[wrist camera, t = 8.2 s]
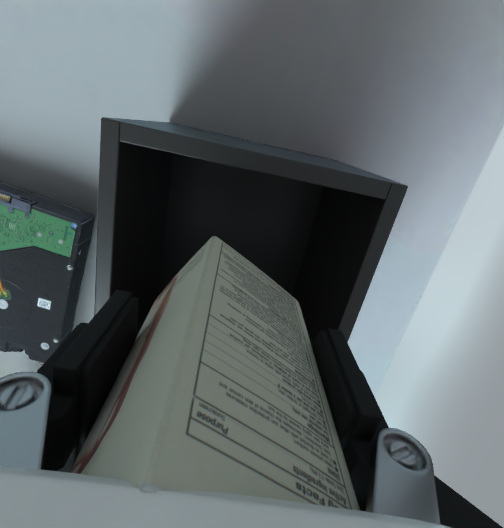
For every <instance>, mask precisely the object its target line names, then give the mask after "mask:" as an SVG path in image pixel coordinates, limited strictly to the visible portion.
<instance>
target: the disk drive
mask: <svg viewBox="0 0 504 528" xmlns="http://www.w3.org/2000/svg"><path fill="white" fill-rule="evenodd" d="M93 221H94V216H93V215H91V214H87V213H85V212H82V211H80V210H78V209H75V208H72V207H70V206H67V205H64V204H61V203H58V202H56V201H53V200H50V199H47V198H44V197H41V196H38V195H36V194H33V193H30V192H27V191H24V190H21V189H19V188H16V187H13V186H10V185H8V184H5V183H2V182H0V351H3V352H7V351H8V352H11V351H14V352H17V351H19V352H21V351H23V350H25V353H26V354H27V355H29V358H30V359H31V360H35V361H39V362H43V363H45V362H46V361H47V360H48V358H49V357H50V356H51V355H52V354H53V353H54V352H55V351H56V349H57V348H58V347H59V346H60V345H61V344H62V343H63V341H64V340H65V339H66V338H67V337H68V336H69V335H70V333H71V328H72V323H73V318H74V314H75V309H76V304H77V299H78V294H79V289H80V283H81V280H82V276H83V271H84V266H85V261H86V256H87V251H88V247H89V242H90V238H91V232H92V227H93Z"/></svg>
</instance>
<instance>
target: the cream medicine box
mask: <svg viewBox="0 0 504 528" xmlns="http://www.w3.org/2000/svg"><path fill="white" fill-rule="evenodd" d="M70 473H76V474H84V475H92V476H100V477H108V478H116V479H124V480H127V481H128V482H130V483H132V484H133V485H135V486H136V487H138V488H139V490H140V491H142V492H149V493H151V492H153V493H155V492H157V491H216V492H226V493H233V494H241V495H248V496H256V497H263V498H271V499H278V500H286V501H293V502H300V503H307V504H315V505H322V506H329V507H336V508H344V509H351V510H358V511H361V510H360V507H359V504H358V501H357V498H356V495H355V492H354V488H353V485H352V481H351V478H350V475H349V471H348V468H347V464H346V461H345V458H344V454H343V451H342V448H341V444H340V440H339V437H338V434H337V431H336V427H335V424H334V421H333V417H332V414H331V410H330V406H329V403H328V400H327V397H326V393H325V390H324V386H323V383H322V380H321V377H320V373H319V370H318V367H317V363H316V360H315V356H314V353H313V349H312V346H311V343H310V339H309V336H308V332H307V329H306V325H305V322H304V319H303V315H302V312H301V309H300V305H299V302H298V301H297V300H296V299H295V298H294V297H292V296H291V295H290V294H289V293H288V292H287V291H285V290H284V289H283V288H282V287H281V286H279V285H278V284H277V283H276V282H275V281H273V280H272V279H271V278H270V277H268V276H267V275H266V274H265V273H263V272H262V271H261V270H260V269H258V268H257V267H256V266H255V265H253V264H252V263H251V262H250V261H248V260H247V259H246V258H244V257H243V256H242V255H241V254H239V253H238V252H237V251H235V250H234V249H233V248H231V247H230V246H229V245H227V244H226V243H225V242H223V241H222V240H221V239H219V238H218V237H216V236H213V237H211V238H210V239H209V240H208V241H207V243H206V244H205V245H204V246H203V247H202V248H201V249H200V250H199V251H198V252H197V253H196V254H195V255H194V256H193V257H192V258H191V259H190V260H189V262H188V263H187V264H186V265H185V266H184V267H183V268H182V269H181V270H180V271H179V273H178V274H177V275H176V276H175V277H174V278H173V279H172V280H171V282H170V283H169V284H168V285H167V286H166V288H165V289H164V290H163V291H162V293H161V294H160V295H159V296H158V297H157V299H156V300H155V302H154V304H153V306H152V308H151V310H150V312H149V314H148V316H147V318H146V320H145V322H144V324H143V326H142V328H141V330H140V332H139V334H138V336H137V338H136V340H135V342H134V344H133V346H132V348H131V350H130V352H129V354H128V356H127V358H126V360H125V362H124V364H123V366H122V368H121V370H120V372H119V374H118V376H117V378H116V380H115V382H114V384H113V386H112V388H111V390H110V392H109V394H108V396H107V398H106V400H105V402H104V404H103V406H102V408H101V410H100V412H99V414H98V416H97V418H96V420H95V422H94V424H93V426H92V428H91V431H90V433H89V435H88V437H87V439H86V441H85V443H84V444H83V446H82V449H81V451H80V453H79V455H78V457H77V459H76V461H75V463H74V465H73V467H72V469H71V471H70Z"/></svg>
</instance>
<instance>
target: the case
mask: <svg viewBox="0 0 504 528" xmlns="http://www.w3.org/2000/svg"><path fill="white" fill-rule="evenodd" d="M407 188H408V186H406V185H403V184H401V183H398V182H395V181H392V180H390V179H387V178H384V177H381V176H378V175H376V174H373V173H370V172H367V171H365V170H362V169H359V168H356V167H354V166H351V165H348V164H345V163H342V162H340V161H336V160H332V159H327V158H323V157H318V156H314V155H310V154H305V153H301V152H296V151H292V150H288V149H283V148H279V147H274V146H270V145H266V144H261V143H257V142H252V141H248V140H244V139H239V138H235V137H230V136H226V135H222V134H217V133H213V132H208V131H204V130H200V129H195V128H191V127H187V126H182V125H178V124H173V123H169V122H155V121H143V120H130V119H117V118H104V117H103V118H102V119H101V142H100V171H99V199H98V228H97V257H96V286H95V314H94V316H95V315H96V314H97V313H98V311H99V310H100V309H101V308H102V307H103V305H104V304H105V303H106V302H107V301H108V299H109V298H110V297H111V296H112V295H113V293H114V292H115V291H116V290H120V291H125V292H131V293H133V294H134V297H135V298H138V299H139V305H138V315H137V326H136V337H135V340H136V338H137V336H138V334H139V332H140V330H141V328H142V326H143V324H144V322H145V320H146V318H147V316H148V314H149V312H150V310H151V308H152V306H153V304H154V302H155V300H156V299H157V297H158V296H159V295H160V294H161V293H162V291H163V290H164V289H165V288H166V286H167V285H168V284H169V283H170V282H171V280H172V279H173V278H174V277H175V276H176V275H177V274H178V273H179V271H180V270H181V269H182V268H183V267H184V266H185V265H186V264H187V263H188V262H189V260H190V259H191V258H192V257H193V256H194V255H195V254H196V253H197V252H198V251H199V250H200V249H201V248H202V247H203V246H204V245H205V244H206V243H207V241H208V240H209V239H210V238H211V237H213V236H216V237H218V238H219V239H221V240H222V241H223V242H225V243H226V244H227V245H229V246H230V247H231V248H233V249H234V250H235V251H237V252H238V253H239V254H241V255H242V256H243V257H244V258H246V259H247V260H248V261H250V262H251V263H252V264H253V265H255V266H256V267H257V268H258V269H260V270H261V271H262V272H263V273H265V274H266V275H267V276H268V277H270V278H271V279H272V280H273V281H275V282H276V283H277V284H278V285H279V286H281V287H282V288H283V289H284V290H285V291H287V292H288V293H289V294H290V295H291V296H292V297H294V298H295V299H296V300H297V301H298V302H299V305H300V309H301V312H302V315H303V319H304V322H305V325H306V329H307V332H308V336H309V339H310V343H311V346H312V349H313V346H314V343H315V341H316V338H317V335H318V332H319V331H324V329H325V328H330V329H336V330H341V331H342V333H343V335H344V337H345V339H346V341H347V342H348V340H349V337H350V334H351V332H352V329H353V327H354V324H355V322H356V319H357V316H358V314H359V311H360V309H361V306H362V304H363V301H364V299H365V296H366V293H367V291H368V288H369V286H370V283H371V281H372V278H373V275H374V273H375V270H376V268H377V265H378V263H379V260H380V257H381V255H382V252H383V250H384V247H385V245H386V242H387V239H388V237H389V234H390V232H391V229H392V227H393V224H394V221H395V219H396V216H397V214H398V211H399V209H400V206H401V203H402V201H403V198H404V196H405V193H406V191H407Z"/></svg>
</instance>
